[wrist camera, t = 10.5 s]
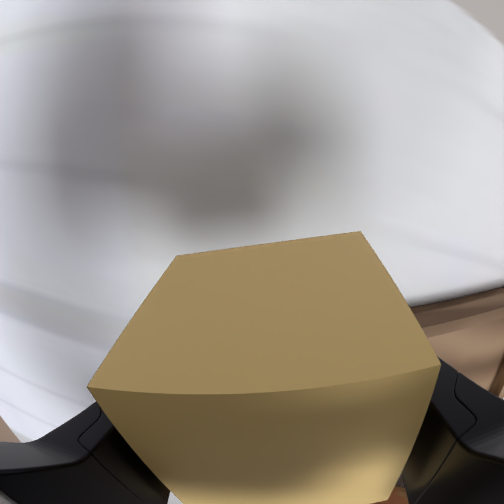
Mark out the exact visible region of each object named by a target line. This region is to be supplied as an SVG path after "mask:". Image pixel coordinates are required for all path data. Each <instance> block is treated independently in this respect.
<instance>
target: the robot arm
mask: <svg viewBox="0 0 504 504" xmlns="http://www.w3.org/2000/svg"><path fill="white" fill-rule="evenodd" d="M437 357H438V356H437ZM438 359H439V361H440V363H441V367H440V370H439V374H438V378H437V381H436V384H435V388H434V391H433V394H432V397H431V400H430V403H429V406H428V409H427V412H426V415H425V417H424V420H423V423H422V425H421V428H420V431H419V433H418V436H417V438H416V441H415V443H414V446H413V448H412V450H411V453H410V455H409V457H408V459H407V462H406V464H405V466H404V468H403V470H402V472H401V474H402V478H403V482H404V486H405V490H406V494H407V498H408V503H409V504H504V400H503V399H501V398H500V397H498V396H496V395H494V394H493V393H491V392H489V391H488V390H486V389H484V388H483V387H481V386H479V385H478V384H476V383H475V382H473V381H472V380H470V379H469V378H468V377H466V376H465V375H463V374H462V373H461V372H459V373H458V370H456V369H455V368H453V367H452V366H451V365H449V364H448V363H446V362H445V361H444V360H442V359H441V358H439V357H438ZM169 494H170V490H169V489H168V488H167V487H166V486H165V485H164V484H163V483H162V482H161V481H160V480H159V479H158V477H157V476H156V475H155V474H154V473H153V472H152V471H151V470H150V469H149V468H148V467H147V465H146V464H145V463H144V462H143V461H142V460H141V459H140V457H139V456H138V455H137V454H136V453H135V451H134V450H133V449H132V448H131V447H130V445H129V444H128V443H127V442H126V440H125V439H124V438H123V437H122V435H121V434H120V433H119V432H118V430H117V429H116V428H115V426H114V425H113V424H112V422H111V421H110V420H109V418H108V417H107V416H106V414H105V413H104V411H103V410H102V409H101V407H100V406H99V404H98V403H97V401H96V402H95V403H93V404H92V405H91V406H89V407H88V408H86V409H85V410H84V411H82V412H81V413H80V414H78V415H77V416H75V417H73V418H72V419H70V420H69V421H67V422H66V423H64V424H62V425H61V426H59V427H58V428H56V429H54V430H53V431H51V432H49V433H48V434H46V435H45V436H43V437H41V438H39V439H37V440H35V441H31V442H26V443H14V442H0V504H167V502H168V498H169Z"/></svg>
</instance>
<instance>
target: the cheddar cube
mask: <svg viewBox="0 0 504 504" xmlns="http://www.w3.org/2000/svg"><path fill="white" fill-rule="evenodd" d="M440 367H441V363H440V361H439V359H438V357H437V355H436V354H435V352H434V350H433V348H432V346H431V344H430V342H429V341H428V339H427V337H426V335H425V333H424V332H423V330H422V328H421V326H420V325H419V323H418V321H417V319H416V318H415V316H414V314H413V312H412V311H411V309H410V307H409V306H408V304H407V302H406V301H405V299H404V297H403V296H402V294H401V292H400V291H399V289H398V287H397V286H396V284H395V283H394V281H393V279H392V278H391V276H390V275H389V273H388V272H387V270H386V268H385V267H384V265H383V264H382V262H381V261H380V259H379V258H378V256H377V255H376V253H375V252H374V250H373V249H372V247H371V246H370V244H369V243H368V241H367V240H366V238H365V237H364V235H363V234H362V233H361V231H358V232H350V233H343V234H335V235H327V236H319V237H312V238H304V239H297V240H289V241H282V242H274V243H267V244H259V245H252V246H244V247H237V248H229V249H222V250H215V251H207V252H200V253H193V254H185V255H178V256H176V257H175V259H174V260H173V261H172V263H171V264H170V265H169V267H168V268H167V269H166V271H165V272H164V274H163V275H162V276H161V278H160V279H159V280H158V282H157V283H156V285H155V286H154V287H153V289H152V290H151V292H150V293H149V294H148V296H147V297H146V299H145V300H144V302H143V303H142V304H141V306H140V307H139V309H138V310H137V312H136V313H135V314H134V316H133V317H132V319H131V320H130V322H129V323H128V325H127V326H126V328H125V329H124V330H123V332H122V333H121V335H120V336H119V338H118V339H117V341H116V342H115V344H114V345H113V347H112V348H111V350H110V351H109V353H108V354H107V356H106V358H105V359H104V361H103V362H102V364H101V365H100V367H99V368H98V370H97V371H96V373H95V375H94V376H93V378H92V379H91V381H90V382H89V384H88V386H87V388H88V389H89V391H90V392H91V394H92V395H93V397H94V398H95V400H96V401H97V403H98V404H99V406H100V407H101V409H102V410H103V411H104V413H105V414H106V416H107V417H108V418H109V420H110V421H111V422H112V424H113V425H114V426H115V428H116V429H117V430H118V432H119V433H120V434H121V435H122V437H123V438H124V439H125V440H126V442H127V443H128V444H129V445H130V447H131V448H132V449H133V450H134V451H135V453H136V454H137V455H138V456H139V457H140V459H141V460H142V461H143V462H144V463H145V464H146V465H147V467H148V468H149V469H150V470H151V471H152V472H153V473H154V474H155V475H156V476H157V477H158V479H159V480H160V481H161V482H162V483H163V484H164V485H165V486H166V487H167V488H168V489H169V490H170V491H171V492H172V493H173V494H174V495H175V496H176V497H177V498H178V499H179V500H180V501H181V502H182V503H183V504H371V503H376V502H381V501H385V500H388V498H389V496H390V494H391V492H392V490H393V488H394V487H395V485H396V483H397V481H398V479H399V477H400V474H401V472H402V470H403V468H404V466H405V464H406V462H407V459H408V457H409V455H410V453H411V450H412V448H413V446H414V443H415V441H416V438H417V436H418V433H419V431H420V428H421V425H422V423H423V420H424V417H425V415H426V412H427V409H428V406H429V403H430V400H431V397H432V394H433V391H434V388H435V384H436V381H437V378H438V374H439V370H440Z"/></svg>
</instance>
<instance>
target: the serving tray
mask: <svg viewBox="0 0 504 504" xmlns="http://www.w3.org/2000/svg"><path fill="white" fill-rule="evenodd" d="M410 309H411V311H412V312H413V314H414V316H415V318H416V319H417V321H418V323H419V325H420V326H421V328H422V330H423V332H424V333H425V335H426V337H427V339H428V341H429V342H430V344H431V346H432V348H433V350H434V352H435V354H436V355H437V356H438V357H439V358H441V359H442V360H444V361H445V362H446V363H448V364H449V365H451V366H452V367H453V368H455V369H456V370H458V373H459V372H461V373H462V374H463V375H465V376H466V377H468V378H469V379H470V380H472V381H473V382H475V383H476V384H478V385H479V386H481V387H483V388H484V389H486V390H488V391H489V392H491V393H493V394H494V395H496V396H498V397H500V398H501V399H503V398H504V287H501V288H498V289H494V290H490V291H486V292H482V293H477V294H473V295H469V296H465V297H460V298H456V299H451V300H447V301H442V302H437V303H432V304H427V305H422V306H417V307H412V308H410Z"/></svg>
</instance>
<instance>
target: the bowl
mask: <svg viewBox="0 0 504 504" xmlns="http://www.w3.org/2000/svg"><path fill="white" fill-rule="evenodd" d="M371 504H409V503H408V498H407V494H406V490H405V488H403V487H400V486H397V485H395V487H394V488H393V490H392V492H391V494H390V496H389V498H388V500H385V501H381V502H376V503H371Z"/></svg>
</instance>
